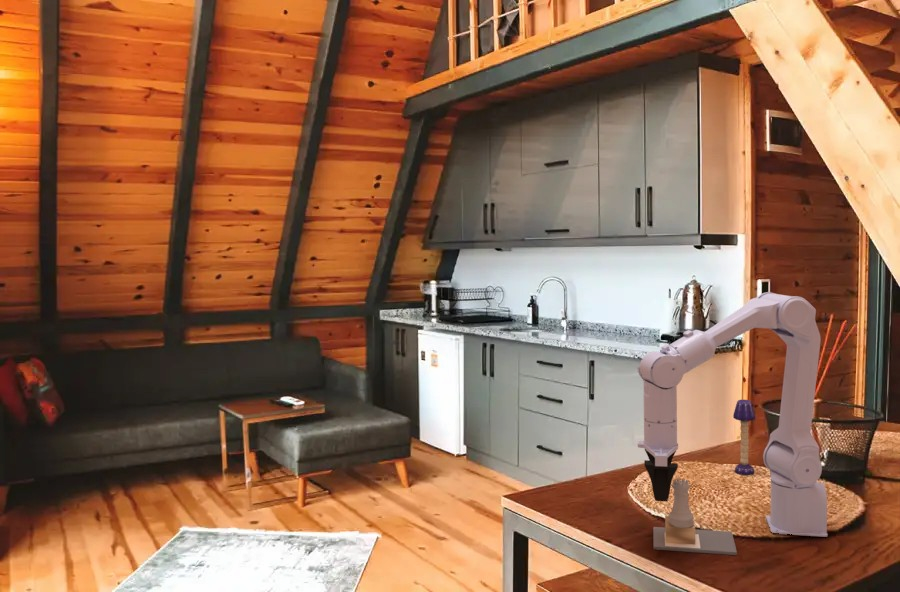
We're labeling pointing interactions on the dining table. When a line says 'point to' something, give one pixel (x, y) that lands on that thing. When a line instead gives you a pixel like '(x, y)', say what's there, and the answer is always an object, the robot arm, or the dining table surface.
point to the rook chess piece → (681, 506)
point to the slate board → (698, 542)
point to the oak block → (679, 533)
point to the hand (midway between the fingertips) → (660, 492)
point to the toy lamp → (744, 434)
